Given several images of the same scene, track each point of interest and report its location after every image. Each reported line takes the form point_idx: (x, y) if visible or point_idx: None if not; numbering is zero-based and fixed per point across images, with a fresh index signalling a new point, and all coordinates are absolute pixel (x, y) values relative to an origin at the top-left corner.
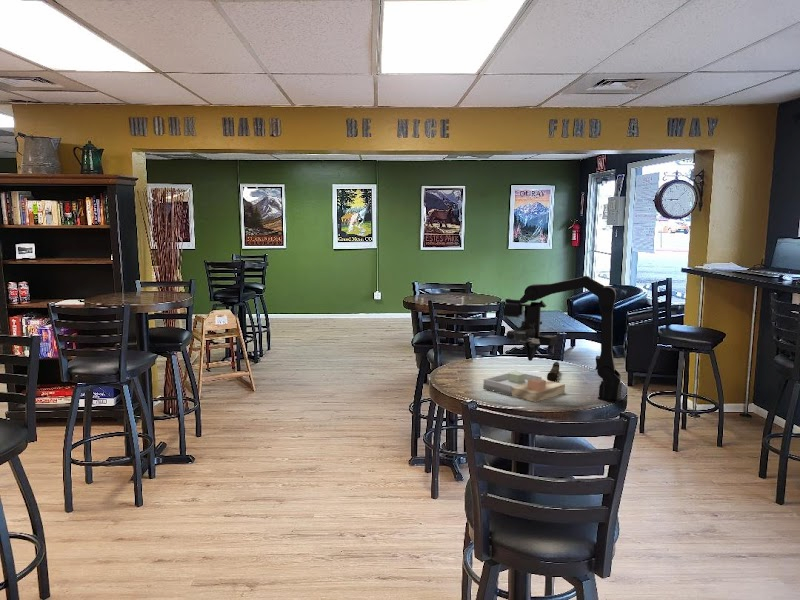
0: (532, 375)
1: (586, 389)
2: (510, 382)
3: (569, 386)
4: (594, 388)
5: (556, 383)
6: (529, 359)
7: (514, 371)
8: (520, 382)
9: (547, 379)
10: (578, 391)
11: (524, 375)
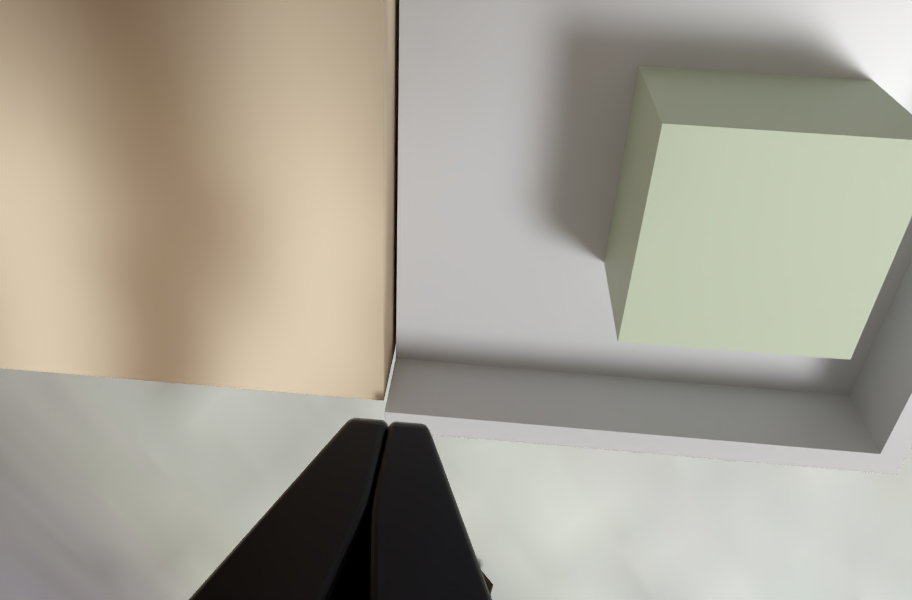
0: (541, 428)
1: (27, 535)
2: (790, 11)
3: (196, 525)
4: (21, 596)
5: (69, 330)
6: (374, 438)
7: (894, 449)
8: (625, 143)
9: (485, 577)
10: (2, 433)
11: (618, 307)
